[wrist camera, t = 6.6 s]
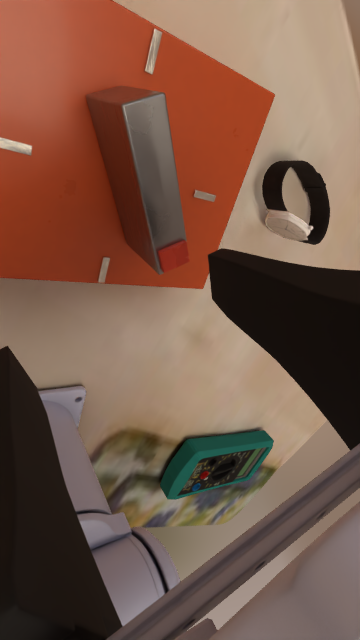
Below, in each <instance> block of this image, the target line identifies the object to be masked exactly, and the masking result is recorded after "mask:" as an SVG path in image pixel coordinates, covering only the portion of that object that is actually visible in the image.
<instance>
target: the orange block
mask: <svg viewBox="0 0 360 640" xmlns="http://www.w3.org/2000/svg"><path fill="white" fill-rule="evenodd" d="M118 86H127V87H133V88H139V89H146V90H152V91H158V92H164V93H165V96H166V103H167V110H168V117H169V123H170V130H171V137H172V144H173V151H174V158H175V164H176V171H177V178H178V185H179V192H180V199H181V205H182V212H183V219H184V226H185V233H186V240H187V246H188V253H189V260H190V262H188V263H185V264H183V265H181V266H179V267H177V268H174V269H172V270H170V271H168V272H166V273H163V274H161V275H159V274H158V273H157V272H156V271H155V270H154V269H153V268H152V267H150V266H149V265H148V264H147V263H146V262H145V261H144V260H143V259H142V258H141V257H140V256H139V255H138V254H137V253H136V252H135V251H134V250H132V249H131V248H130V247H129V246H128V245H127V243H126V239H125V236H124V232H123V229H122V225H121V222H120V218H119V214H118V211H117V207H116V204H115V200H114V196H113V193H112V189H111V186H110V182H109V179H108V175H107V171H106V168H105V164H104V161H103V157H102V153H101V150H100V146H99V143H98V139H97V136H96V132H95V128H94V125H93V121H92V118H91V114H90V111H89V107H88V103H87V100H86V95H87V94H91V93H95V92H98V91H102V90H106V89H110V88H114V87H118ZM274 97H275V94H274V93H272V92H270V91H268V90H267V89H265V88H263V87H261V86H260V85H258V84H256V83H255V82H253V81H251V80H249V79H248V78H246V77H244V76H242V75H241V74H239V73H237V72H236V71H234V70H232V69H230V68H229V67H227V66H225V65H223V64H222V63H220V62H218V61H216V60H215V59H213V58H211V57H210V56H208V55H206V54H204V53H203V52H201V51H199V50H197V49H196V48H194V47H192V46H191V45H189V44H187V43H185V42H184V41H182V40H180V39H178V38H177V37H175V36H173V35H171V34H170V33H168V32H166V31H165V30H163V29H161V28H159V27H158V26H156V25H154V24H152V23H151V22H149V21H147V20H145V19H144V18H142V17H140V16H139V15H137V14H135V13H133V12H132V11H130V10H128V9H126V8H125V7H123V6H121V5H120V4H118V3H116V2H114V1H113V0H0V278H14V279H32V280H50V281H69V282H87V283H105V284H123V285H141V286H159V287H177V288H196V289H203V287H204V285H205V282H206V279H207V277H208V274H209V263H208V254H210V253H213V252H215V251H217V250H218V247H219V244H220V242H221V239H222V236H223V234H224V231H225V228H226V226H227V223H228V220H229V218H230V215H231V212H232V210H233V207H234V204H235V201H236V199H237V196H238V193H239V191H240V188H241V185H242V183H243V180H244V177H245V175H246V172H247V169H248V167H249V164H250V161H251V158H252V156H253V153H254V150H255V148H256V145H257V142H258V140H259V137H260V134H261V132H262V129H263V126H264V124H265V121H266V118H267V116H268V113H269V110H270V107H271V105H272V102H273V99H274Z"/></svg>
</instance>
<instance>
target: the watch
mask: <svg viewBox="0 0 360 640" xmlns="http://www.w3.org/2000/svg"><path fill="white" fill-rule="evenodd" d="M290 167H292V168H293V169H294V170H295V171H296V173H297V175H298V176H299V178H300V180H301V181H302V183H303V186H304V189H305V192H307V193H308V197H309V200H310V207H311V215H310V222H309V226H308V225H307V224H306V223H305V222H304V221H303V220H302V219H301V218H299V217H297V216H295V215H293V214H292V213H289V212H288V211H287V209H286V207H285V205H284V202H283V198H282V182H283V179H284V176H285V174H286V172H287V170H288V169H289V168H290ZM262 191H263V198H264V201H265V205H266V206H267V208H268V209H266V210H267V211H268V212H269V213H268V214H267V217H266V220H265V223H266V225H267V226H268V228H269V229H270V230H271V231H273V232H275V233H276V234H278V235H280V236H282V237H284V238H287V239H291V240H296V241H300V242H304V243H309V244H313V245H316V244H318V243H320V242H321V241H322V239H323V238H324V236H325V234H326V232H327V228H328V224H329V218H330V206H329V199H328V194H327V190H326V184H325V183H324V181H323V178H322V176H321V175H320V174H319V173H317V172H316V170H315V169H314V167H313V166H312V165H310V164H309V163H308V162H305V161H279V162H276V163H274V164H272V165H271V166H270V167H269V168H268V170H267V172H266V174H265V176H264V179H263V185H262Z"/></svg>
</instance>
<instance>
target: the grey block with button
mask: <svg viewBox="0 0 360 640" xmlns="http://www.w3.org/2000/svg"><path fill="white" fill-rule="evenodd" d="M86 100H87V103H88V107H89V111H90V114H91V118H92V121H93V125H94V128H95V132H96V136H97V139H98V143H99V146H100V150H101V153H102V157H103V161H104V164H105V168H106V171H107V175H108V179H109V182H110V186H111V189H112V193H113V196H114V200H115V204H116V207H117V211H118V214H119V218H120V222H121V225H122V229H123V232H124V236H125V239H126V243H127V245H128V246H129V247H130V248H131V249H132V250H134V251H135V252H136V253H137V254H138V255H139V256H140V257H141V258H142V259H143V260H144V261H145V262H146V263H147V264H148V265H149V266H150V267H152V268H153V269H154V270H155V271H156V272H157V273H158V274H159V275H161V274H163V273H166V272H168V271H170V270H172V269H174V268H177V267H179V266H181V265H183V264H185V263H188V262H190V260H189V253H188V246H187V240H186V233H185V226H184V219H183V212H182V205H181V199H180V192H179V185H178V178H177V171H176V164H175V158H174V151H173V144H172V137H171V130H170V123H169V117H168V110H167V103H166V96H165V93H164V92H158V91H152V90H146V89H139V88H133V87H127V86H118V87H114V88H110V89H106V90H102V91H98V92H95V93H91V94H87V95H86Z"/></svg>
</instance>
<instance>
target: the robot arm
mask: <svg viewBox="0 0 360 640" xmlns="http://www.w3.org/2000/svg"><path fill="white" fill-rule="evenodd" d="M208 263H209V272H210V282H211V292H212V299H213V301H214V302H215V303H216V304H217V305H218V307H219V308H220V309H221V310H222V311H223V312H224V314H225V315H226V316H227V317H228V318H229V319H230V320H231V321H232V322H234V323H235V324H236V325H237V326H238V327H239V328H240V329H241V330H243V331H244V332H245V333H246V334H247V335H248V336H250V337H251V338H252V339H253V340H254V341H255V342H256V343H258V344H259V345H260V346H261V347H262V348H263V349H265V350H266V351H267V352H268V353H269V354H270V355H271V356H272V357H273V358H274V359H275V360H277V361H278V363H279V364H280V365H281V366H282V367H283V368H284V369H285V370H286V371H287V372H288V373H289V374H290V376H291V377H292V378H293V379H294V380H295V381H296V382H297V383H298V385H299V386H300V387H301V388H302V389H303V390H304V391H305V393H306V394H307V395H308V396H309V397H310V398H311V400H312V401H313V402H314V403H315V405H316V406H317V407H318V408H319V410H320V411H321V412H322V413H323V414H324V416H325V417H326V418H327V419H328V420H329V422H330V423H331V425H332V426H333V427H334V429H335V430H336V431H337V433H338V434H339V435H340V437H341V438H342V439H343V441H344V442H345V443H346V445H347V446H348V448H349V449H350V451H349V452H348V453H347V454H345V455H344V456H343V457H342V458H340V459H339V460H338V461H336V462H335V463H334V464H333V465H331V466H330V467H329V468H327V469H326V470H325V471H323V472H322V473H321V474H320V475H318V476H317V477H316V478H314V479H313V480H312V481H311V482H309V483H308V484H307V485H305V486H304V487H303V488H302V489H300V490H299V491H298V492H296V493H295V494H294V495H293V496H291V497H290V498H289V499H287V500H286V501H285V502H283V503H282V504H281V505H279V506H278V507H277V508H276V509H275V510H273V511H272V512H270V513H269V514H268V515H267V516H265V517H264V518H263V519H261V520H260V521H259V522H257V523H256V524H255V525H254V526H252V527H251V528H250V529H248V530H247V531H246V532H245V533H243V534H242V535H241V536H239V537H238V538H237V539H236V540H234V541H233V542H232V543H230V544H229V545H228V546H226V547H225V548H224V549H223V550H221V551H220V552H219V553H217V554H216V555H215V556H214V557H212V558H211V559H210V560H208V561H207V562H206V563H204V564H203V565H202V566H201V567H199V568H198V569H197V570H195V571H194V572H193V573H191V574H190V575H189V576H188V577H186V578H185V579H184V580H182V581H180V578H179V575H178V573H177V570H176V567H175V565H174V563H173V561H172V559H171V557H170V555H169V553H168V552H167V550H166V549H165V547H164V546H163V545H162V543H161V542H160V541H159V540H158V539H157V538H155V537H154V536H153V535H152V533H150V532H149V531H148V530H146V529H145V528H142V527H133V528H130V526H129V524H128V521H127V519H126V517H125V514H124V513H123V512H121V513H118V514H113V515H112V513H111V511H110V508H109V506H108V503H107V501H106V499H105V496H104V494H103V491H102V489H101V486H100V484H99V481H98V479H97V476H96V474H95V471H94V469H93V466H92V464H91V461H90V459H89V456H88V454H87V452H86V449H85V447H84V444H83V442H82V439H81V437H80V434H79V432H78V425H79V421H80V417H81V413H82V408H83V404H84V400H85V396H86V390H85V388H84V387H83V386H75V387H67V388H59V389H51V390H43V391H38V390H37V387H36V386H35V385H34V383H33V382H32V380H31V379H30V377H29V376H28V375H27V373H26V372H25V370H24V369H23V367H22V366H21V364H20V363H19V362H18V360H17V359H16V357H15V356H14V354H13V353H12V351H11V350H10V349H9V347H8V346H6V347H4V348H2V349H0V640H360V502H359V503H357V504H356V505H355V506H354V507H353V508H351V509H350V510H349V511H348V512H347V513H346V514H344V515H343V516H342V517H341V518H340V519H338V520H337V521H336V522H335V523H334V524H333V525H331V526H330V527H329V528H328V529H327V530H326V531H325V532H324V533H322V534H321V535H320V536H319V537H318V538H317V539H316V540H314V541H313V542H312V543H311V544H310V545H309V546H308V547H307V548H306V549H305V550H303V551H302V552H301V553H300V554H299V555H298V556H297V557H296V558H295V559H294V560H293V561H291V562H290V564H288V565H287V566H286V567H285V568H284V569H283V570H282V571H281V572H280V573H278V574H277V575H276V576H275V577H274V578H273V579H272V580H271V581H270V582H269V583H268V584H267V585H266V586H265V587H264V588H263V589H262V590H260V591H259V593H257V594H256V595H255V596H254V597H253V598H252V599H251V600H250V601H249V602H248V603H247V604H246V605H245V606H243V608H241V609H240V610H239V611H238V612H237V613H236V614H235V615H234V616H233V617H232V618H231V619H230V620H229V621H228V622H227V623H225V624H224V625H223V626H222V627H221V628H220V629H219V630H217V629H216V627H215V625H214V623H213V621H212V620H211V619H208V618H207V619H205V620H203V621H202V622H200V623H199V624H198V625H196V626H194V627H193V628H191V629H190V630H188V629H189V628H190V627H192V626H193V625H194V624H195V623H196V622H198V621H199V620H200V619H201V618H203V617H204V616H205V615H206V614H207V613H209V612H210V611H211V610H212V609H213V608H215V607H216V606H217V605H218V604H219V603H221V602H222V601H223V600H224V599H225V598H227V597H228V596H229V595H230V594H232V593H233V592H234V591H235V590H236V589H238V588H239V587H240V586H241V585H242V584H244V583H245V582H246V581H247V580H248V579H250V578H251V577H252V576H253V575H255V574H256V573H257V572H258V571H259V570H261V569H262V568H263V567H264V566H265V565H267V563H269V562H270V561H271V560H273V559H274V558H275V557H276V556H278V555H279V554H280V553H281V552H282V551H284V550H285V549H286V548H287V547H288V546H290V545H291V544H292V543H293V542H294V541H296V540H297V539H298V538H299V537H300V536H301V535H303V534H304V533H305V532H307V531H308V530H309V529H310V528H311V527H313V526H314V525H315V524H316V523H317V522H319V521H320V520H321V519H322V518H323V517H325V516H326V515H327V514H328V513H330V511H332V510H333V509H334V508H335V507H337V506H338V505H339V504H340V503H341V502H342V501H344V500H345V499H346V498H348V497H349V496H350V495H351V494H352V493H354V492H355V491H356V490H357V489H358V488H360V271H356V270H338V269H328V268H318V267H311V266H305V265H299V264H293V263H288V262H283V261H278V260H273V259H269V258H264V257H260V256H256V255H251V254H247V253H243V252H238V251H234V250H229V249H222V248H221V249H219V250H217V251H215V252H213V253H210V254H208ZM78 397H79V398H78ZM76 398H77V399H76ZM187 630H188V631H187Z"/></svg>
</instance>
